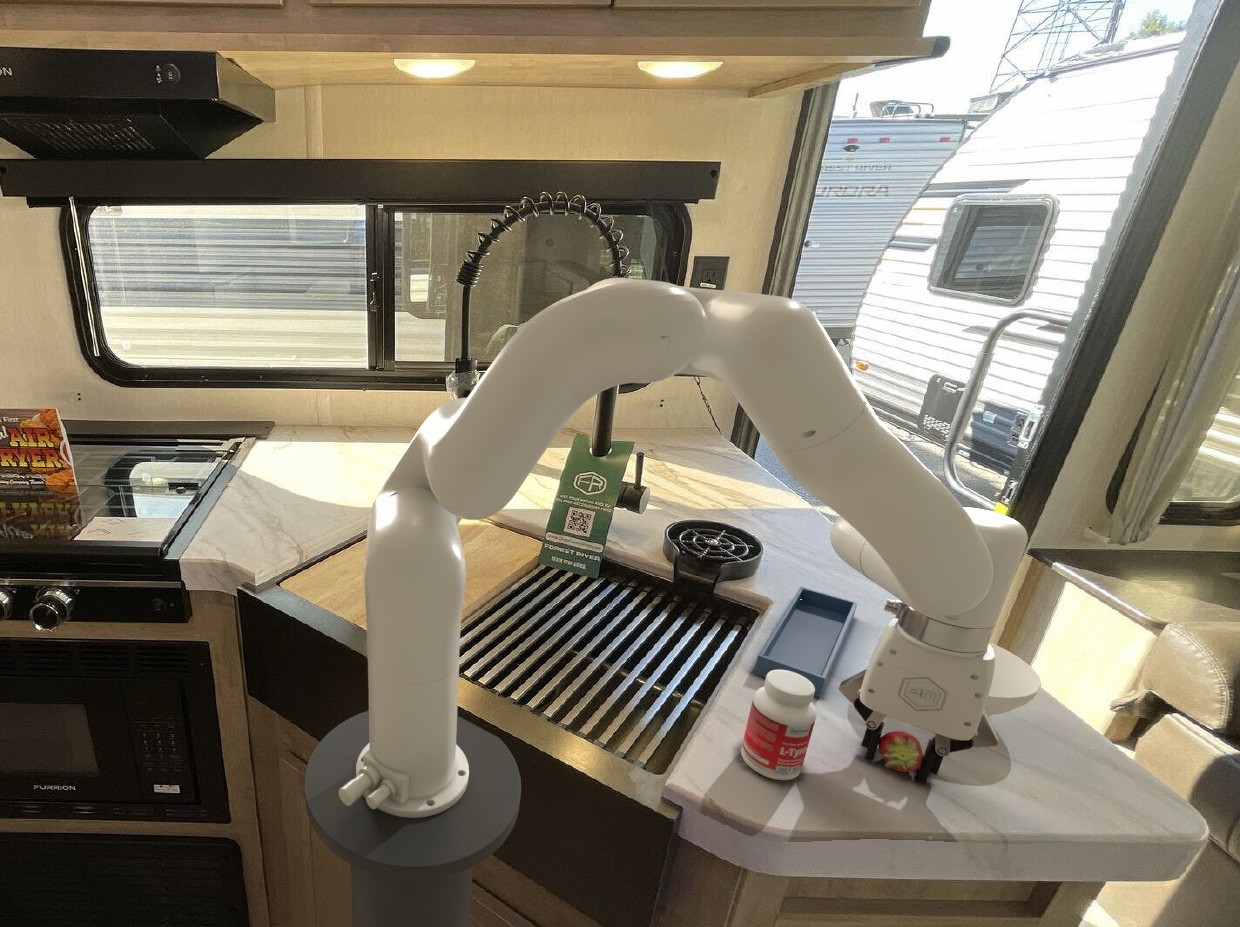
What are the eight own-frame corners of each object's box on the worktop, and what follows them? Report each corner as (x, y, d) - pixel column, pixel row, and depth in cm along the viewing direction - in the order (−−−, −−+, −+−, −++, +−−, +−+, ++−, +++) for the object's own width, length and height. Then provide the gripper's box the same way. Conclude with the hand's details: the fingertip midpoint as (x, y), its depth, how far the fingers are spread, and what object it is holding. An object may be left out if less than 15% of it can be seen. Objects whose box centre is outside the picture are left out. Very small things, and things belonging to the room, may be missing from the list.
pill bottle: (776, 789, 71) (798, 706, 67) (728, 753, 77) (746, 674, 73) (812, 771, 74) (836, 689, 70) (764, 737, 79) (783, 659, 75)
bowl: (988, 764, 75) (1008, 714, 72) (841, 689, 88) (855, 644, 85) (1043, 717, 83) (1063, 670, 80) (901, 654, 95) (915, 612, 93)
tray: (819, 697, 86) (825, 678, 85) (753, 673, 91) (758, 655, 90) (853, 619, 105) (857, 602, 103) (796, 602, 109) (800, 586, 108)
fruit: (919, 758, 76) (932, 723, 74) (917, 789, 72) (930, 752, 70) (875, 742, 78) (887, 707, 77) (870, 771, 74) (882, 735, 72)
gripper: (843, 612, 71) (805, 747, 77) (1055, 673, 61) (991, 823, 67) (854, 586, 76) (818, 715, 83) (1052, 639, 66) (992, 781, 73)
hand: (896, 762), depth 75 cm, fingers closed on fruit, 4 cm apart
